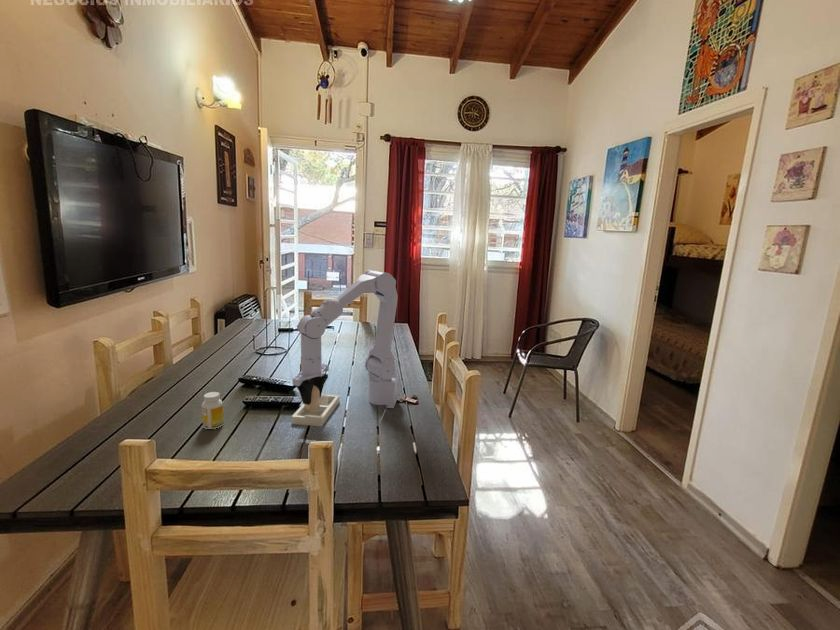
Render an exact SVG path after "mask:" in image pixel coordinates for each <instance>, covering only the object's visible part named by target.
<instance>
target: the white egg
mask: <svg viewBox="0 0 840 630" xmlns="http://www.w3.org/2000/svg"><path fill="white" fill-rule="evenodd" d="M327 395H328V394H326V393H323V392H322V394H321V398H320V405H325V406H326V405H327V404H328V396H327Z"/></svg>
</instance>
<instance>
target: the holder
mask: <svg viewBox="0 0 840 630" xmlns="http://www.w3.org/2000/svg"><path fill="white" fill-rule="evenodd" d="M326 395H327V396H328V404H327V405H326V406H325V405H320V407H319V408H318V409H315V410H307V409H305V408H304V404H302V405H300V407H299V408H298V409H296V411H295V412H294V413H293V414H292V415H291V424H292V425H300V426H301V425H302V426H311V427H312V426H313V427H314V426H315V427H323V426H324V424H325V423H326V421H327V420H328V419H329V417H330V416H331V415H332V414H333V412H334V411H335V409H336V408H337V406H338V405H339V404H340V395H335V394H334V395H333V394H326Z"/></svg>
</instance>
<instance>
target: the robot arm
mask: <svg viewBox="0 0 840 630" xmlns="http://www.w3.org/2000/svg"><path fill="white" fill-rule="evenodd" d="M396 286H397V280H396V279H395V278H394V276H393V275H392V274H391V273H388V272H383V271H377V270H375V269H368V270H366V271H364V273H362V274H361V275H359V276H358V278H357V280H356V281H354V282H353V283H352V284H351V285H350V286H348V287H347V288H346V289H345V290H344V291H343V292H341V294H340V295H339V296H338V297H336V298H328V299H324V300H323V301H322V303H323V304H321V305H320V306H319V307H317V308H316V309H315V310H311V311H310V314H308V315H306V314H305V315H303V316H302V317H301V318H300V319H299V322H298V323H297V325H296V327H297V328H296V329H297V331H298V332H299V333H300V363H301V372H300V371H299V373H298V374H297V375H296V376H295V377H293V378H292V386H295V387H296V388H297V390H298V392H299V394H300V397H301V400H302V403H303V404H307V405H309V404H310V403H311V394H312V389H313V386H316V387H318V389H319V391H320V398H321V394H322V393H323V389H324V387H325V384H326V381H327V380H328V378H329V374H328V373H326V372H329V370H330V367H329V364H327V363H322V362H323V360H322V336H323V335H324V334H325V332H326V328H327V327H328V326H330V325H331V324H332V323H333V322H334V321H335V320H336V319H337V320H338V318H339V317H340V316H341V315H343V311H344V308H345V307H347V306H348V305H350V304H351V303H352V302H354V301H356V299H358V298H359V297H361V296H363V294H374V295H375V296H376V297H377V299H378V300H379V306H378V307H379V309H378V315H377V321H376V322H377V323H376V330H375V337H374V343H373V348H371V350H369V351H368V352H369V353H368V356H367V359H366V360H365V362H364V367H365V370H366V372H368V402H369V403H370V404H372V405H376V406H385V408H386V409H394V408H395V406H396V403H397V401H398V378H395V377H394V375H395V373H396V365H395V359H396V358H395V356H394V354H393V352H392V350H391V349H392V342H393V334H394V329H395V328H394V326H395V321H396V313H397V308H398V299H399V298H398V297H399V295H398V292H397V287H396ZM309 379H311V383H310V381H309ZM303 404H302V405H303Z"/></svg>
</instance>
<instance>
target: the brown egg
mask: <svg viewBox="0 0 840 630" xmlns="http://www.w3.org/2000/svg"><path fill="white" fill-rule="evenodd" d="M319 407H320V391H319V389H318V387H316V386H313V389H312V394H311V403H310V404H309V405H307V404H304V408H305V409H307V410H315V409H318V408H319Z"/></svg>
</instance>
